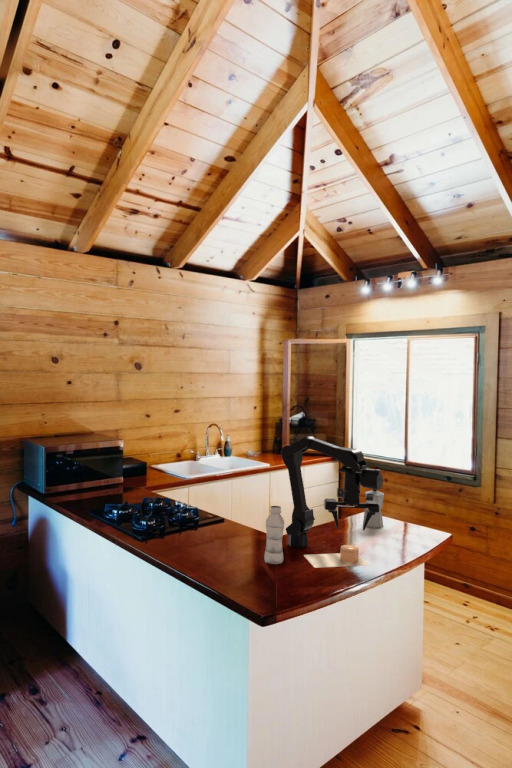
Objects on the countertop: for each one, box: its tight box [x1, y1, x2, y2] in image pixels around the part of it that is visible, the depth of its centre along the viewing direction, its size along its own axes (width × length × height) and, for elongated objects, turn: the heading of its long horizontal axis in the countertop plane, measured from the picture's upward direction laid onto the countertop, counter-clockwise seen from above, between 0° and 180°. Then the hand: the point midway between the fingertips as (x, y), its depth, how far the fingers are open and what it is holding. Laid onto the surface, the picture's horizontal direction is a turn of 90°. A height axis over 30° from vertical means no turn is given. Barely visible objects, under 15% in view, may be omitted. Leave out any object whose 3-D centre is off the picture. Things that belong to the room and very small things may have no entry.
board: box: [303, 552, 370, 569], centre depth 175 cm, size 20×12×5 cm, turn 103°
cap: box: [339, 544, 360, 563], centre depth 176 cm, size 6×6×4 cm
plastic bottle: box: [263, 505, 285, 565], centre depth 172 cm, size 6×7×20 cm
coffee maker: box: [364, 489, 385, 529], centre depth 223 cm, size 15×9×18 cm, turn 144°
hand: (350, 529), depth 176 cm, fingers open, 9 cm apart
